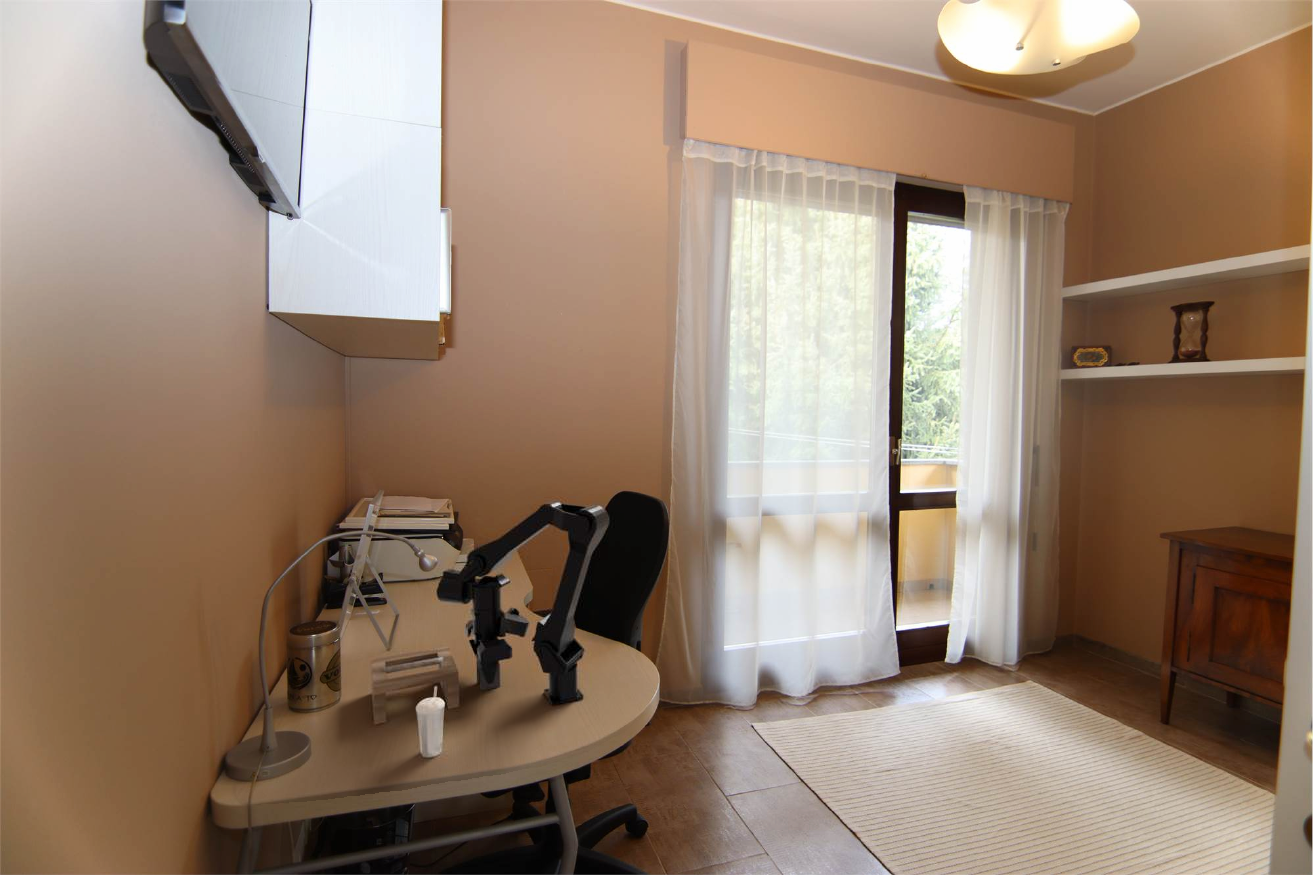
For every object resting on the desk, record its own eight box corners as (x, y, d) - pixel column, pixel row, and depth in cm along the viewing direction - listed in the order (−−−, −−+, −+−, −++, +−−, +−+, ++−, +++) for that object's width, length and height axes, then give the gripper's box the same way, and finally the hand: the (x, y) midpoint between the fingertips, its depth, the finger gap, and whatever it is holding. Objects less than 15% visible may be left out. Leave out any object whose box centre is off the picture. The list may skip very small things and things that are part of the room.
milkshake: (450, 742, 106) (449, 685, 106) (440, 759, 101) (439, 700, 101) (424, 742, 106) (422, 686, 106) (413, 760, 101) (411, 701, 100)
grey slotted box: (500, 686, 128) (499, 664, 127) (480, 690, 126) (480, 667, 126) (496, 679, 131) (495, 657, 131) (476, 682, 129) (476, 660, 129)
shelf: (459, 706, 119) (458, 668, 119) (374, 724, 112) (373, 684, 112) (448, 678, 132) (448, 643, 131) (371, 693, 125) (370, 656, 125)
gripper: (537, 613, 123) (538, 689, 124) (514, 588, 140) (515, 655, 140) (480, 621, 118) (481, 701, 119) (464, 595, 135) (465, 665, 135)
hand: (488, 678), depth 128 cm, fingers closed on grey slotted box, 4 cm apart
